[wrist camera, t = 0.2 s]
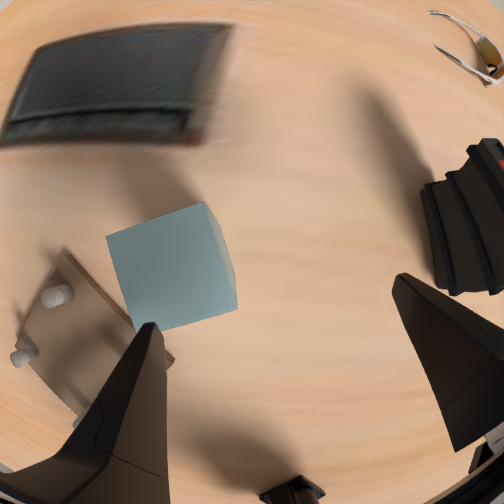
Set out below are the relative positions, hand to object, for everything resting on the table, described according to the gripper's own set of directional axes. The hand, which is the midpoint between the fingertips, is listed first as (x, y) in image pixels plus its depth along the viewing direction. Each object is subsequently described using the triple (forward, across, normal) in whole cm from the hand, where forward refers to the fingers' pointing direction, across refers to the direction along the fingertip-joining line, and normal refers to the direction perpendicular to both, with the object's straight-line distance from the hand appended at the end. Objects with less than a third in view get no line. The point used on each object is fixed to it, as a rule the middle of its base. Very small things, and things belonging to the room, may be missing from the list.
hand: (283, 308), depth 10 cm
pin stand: (+9, +18, +13) cm, 24 cm away
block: (+13, +4, +7) cm, 15 cm away
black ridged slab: (+13, -20, +8) cm, 25 cm away
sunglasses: (+28, -40, -15) cm, 51 cm away
